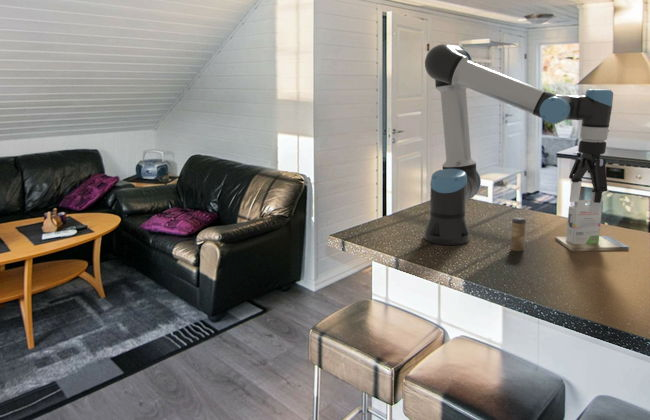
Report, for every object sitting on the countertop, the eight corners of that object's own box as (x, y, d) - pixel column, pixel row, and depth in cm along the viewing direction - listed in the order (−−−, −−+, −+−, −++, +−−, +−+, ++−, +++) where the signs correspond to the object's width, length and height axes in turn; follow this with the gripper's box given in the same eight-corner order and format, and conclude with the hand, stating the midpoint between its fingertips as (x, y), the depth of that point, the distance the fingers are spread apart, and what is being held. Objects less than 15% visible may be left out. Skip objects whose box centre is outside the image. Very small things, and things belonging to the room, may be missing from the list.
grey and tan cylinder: (512, 251, 164) (514, 220, 161) (508, 247, 168) (510, 217, 165) (525, 251, 164) (527, 220, 161) (521, 247, 168) (523, 217, 165)
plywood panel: (570, 250, 163) (571, 247, 163) (554, 239, 175) (555, 236, 174) (628, 250, 163) (628, 246, 162) (608, 238, 174) (609, 235, 174)
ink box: (590, 239, 171) (595, 195, 167) (598, 244, 166) (604, 199, 162) (564, 240, 170) (569, 196, 167) (572, 244, 166) (576, 199, 162)
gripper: (627, 146, 148) (616, 217, 153) (586, 135, 172) (577, 197, 177) (601, 145, 148) (590, 217, 153) (563, 135, 172) (555, 197, 177)
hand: (583, 206), depth 165 cm, fingers open, 13 cm apart
